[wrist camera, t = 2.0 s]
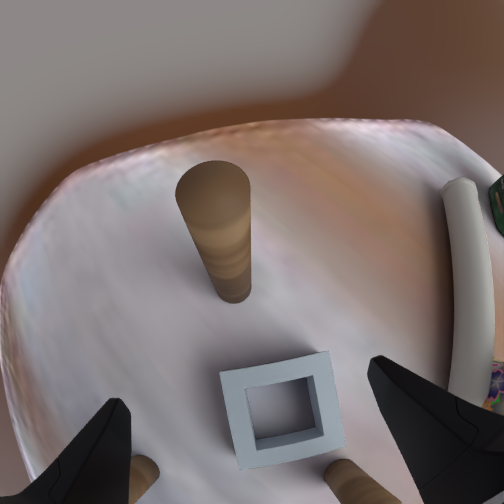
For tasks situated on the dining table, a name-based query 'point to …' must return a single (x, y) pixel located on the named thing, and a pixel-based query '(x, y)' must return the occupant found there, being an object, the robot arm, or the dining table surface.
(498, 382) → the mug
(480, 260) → the tube
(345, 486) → the medium walnut dowel
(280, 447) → the slate collar block
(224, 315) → the dining table surface
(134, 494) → the short walnut dowel
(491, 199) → the coffee jar
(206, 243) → the long walnut dowel
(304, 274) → the dining table surface
